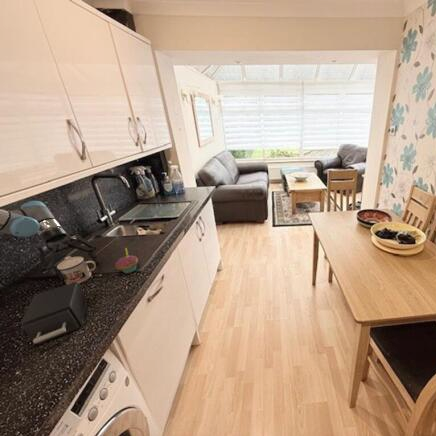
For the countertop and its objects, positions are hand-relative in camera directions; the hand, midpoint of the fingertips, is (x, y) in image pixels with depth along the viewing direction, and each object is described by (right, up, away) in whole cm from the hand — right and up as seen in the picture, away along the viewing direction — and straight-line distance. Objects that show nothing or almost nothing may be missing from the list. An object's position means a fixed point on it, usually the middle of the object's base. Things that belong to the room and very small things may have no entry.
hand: (81, 271), depth 101 cm
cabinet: (+10, -13, -18) cm, 25 cm away
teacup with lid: (-2, -4, +4) cm, 5 cm away
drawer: (+12, -13, -21) cm, 28 cm away
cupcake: (+17, -1, +6) cm, 18 cm away
